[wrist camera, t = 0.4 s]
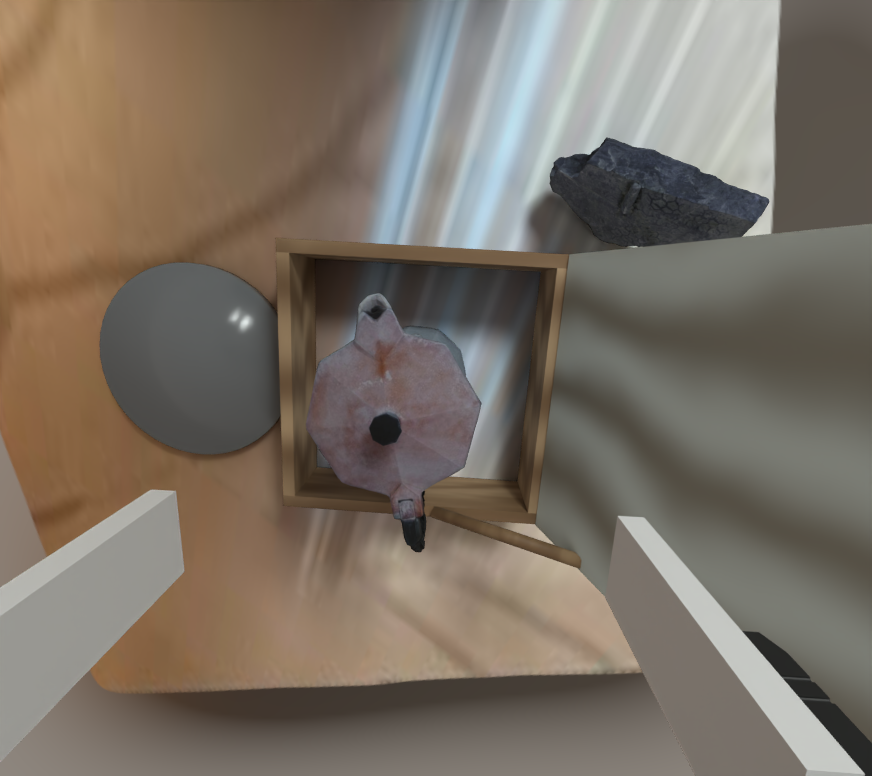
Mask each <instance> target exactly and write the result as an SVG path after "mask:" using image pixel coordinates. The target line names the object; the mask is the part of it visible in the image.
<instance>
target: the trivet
mask: <svg viewBox="0 0 872 776" xmlns="http://www.w3.org/2000/svg"><path fill="white" fill-rule="evenodd" d="M100 358H101V363H102V368H103V372H104V375H105V378H106V381H107V384H108V386H109V388H110V390H111V392H112V394H113V396H114V398H115V399H116V401H117V403H118V404H119V406H120V407H121V408H122V410H123V411H124V412H125V413H126V415H127V416H128V417H129V418H130V419H131V420H132V421H133V422H134V423H135V424H136V425H137V426H138V427H139V428H141V429H142V430H143V431H144V432H145V433H147V434H148V435H150V436H151V437H153V438H154V439H156V440H158V441H160V442H162V443H164V444H166V445H168V446H170V447H173V448H176V449H178V450H182V451H186V452H190V453H197V454H220V453H227V452H231V451H235V450H238V449H240V448H243V447H245V446H247V445H249V444H251V443H252V442H254V441H256V440H257V439H259V438H260V437H261V436H263V435H264V434H265V433H266V432H268V431H269V430H270V429H271V428H272V427H273V426H274V425H275V424H276V423H277V421H278V420H279V419H280V417H281V406H280V373H279V339H278V313H277V312H276V310H275V309H274V307H273V306H272V305H271V304H270V303H269V302H268V300H267V299H266V298H265V297H264V296H263V295H262V294H261V293H260V292H259V291H258V290H257V289H256V288H254V287H253V286H252V285H250V284H249V283H247V282H246V281H245V280H243V279H241V278H240V277H238V276H236V275H234V274H232V273H230V272H228V271H225V270H223V269H220V268H217V267H213V266H209V265H203V264H196V263H170V264H163V265H159V266H156V267H153V268H150V269H148V270H146V271H143V272H141V273H139V274H138V275H136V276H135V277H133V278H132V279H131V280H129V281H128V282H127V283H126V284H125V285H124V286H123V287H122V288H121V289H120V290H119V291H118V292H117V294H116V295H115V296H114V298H113V299H112V301H111V303H110V305H109V307H108V308H107V311H106V313H105V316H104V319H103V323H102V327H101V332H100Z"/></svg>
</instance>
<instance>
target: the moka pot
mask: <svg viewBox="0 0 872 776" xmlns="http://www.w3.org/2000/svg"><path fill="white" fill-rule="evenodd" d="M480 407H481V401H480V400H479V398H478V397H477V395H476V393H475V392H474V390H473V388H472V387H471V385H470V383H469V381H468V380H467V378H466V373H465V367H464V363H463V359H462V354H461V351H460V349H459V348H458V347H457V346H456V345H455V344H454V343H453V342H452V341H451V340H450V339H449V338H448V337H447V336H446V335H445V334H443V333H442V332H441V331H439V330H437V329H432V328H427V327H415V326H407V327H405V328H403V329H402V327H401V326H400V324H399V322H398V320H397V317H396V315H395V314H394V312H393V310H392V308H391V306H390V304H389V303H388V301H387V300H386V298H385V297H384V296H383V295H382V294H380V293H376V294H373V295H368V296H367V297H366V298H365V299H364V300H363V301H362V302H361V303H360V304H359V307H358V314H357V325H356V333H355V338H354V340H353V341H351V342H350V343H348V344H347V345H345V346H344V347H342V348H341V349H339V350H337V351H336V352H334V353H332V354H330V355H329V356H327V357H326V358H324V359H322V360H321V361H320V362H319V364H318V367H317V371H316V375H315V380H314V385H313V390H312V396H311V401H310V406H309V411H308V415H307V420H306V430H307V431H308V432H309V434H310V436H311V437H312V439H313V440H314V442H315V444H316V445H317V447H318V448H319V450H320V451H321V453H322V454H323V456H324V457H325V459H326V460H327V462H328V463H329V465H330V466H331V468H332V469H333V471H334V472H335V474H336V476H337V477H338V478H339V479H340V481H341V482H342V483H345V484H347V485H350V486H353V487H358V488H362V489H365V490H369V491H374V492H377V493H381V494H384V495H387V496H388V497H389V498H390V502H391V507H392V512H393V515H394V518H395V519H400V520H401V522H402V527H403V534H404V538H405V542H406V543H407V545H409V546H411V549H412V550H414V551H415V552H421V551H422V550H423V549H424V546H425V541H424V537H425V531H426V514H425V512H424V507H425V503H424V501H425V499H424V495H425V491H424V490H426V489H427V488H429V487H430V486H432V485H434V484H436V483H437V482H439V481H441V480H443V479H445V478H447V477H449V476H451V475H453V474H454V473H456V472H458V471H459V470H461V469H462V468H464V467H465V464H466V460H467V457H468V453H469V449H470V445H471V442H472V438H473V434H474V430H475V427H476V423H477V420H478V416H479V412H480Z"/></svg>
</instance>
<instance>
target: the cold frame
mask: <svg viewBox="0 0 872 776" xmlns="http://www.w3.org/2000/svg"><path fill="white" fill-rule="evenodd" d="M275 239H276V272H277V306H278V339H279V373H280V406H281V440H282V473H283V506H293V507H306V508H320V509H334V510H347V511H361V512H375V513H389V514H393V512H392V507H391V502H390V498H389V497H388V496H387V495H384V494H381V493H377V492H374V491H369V490H365V489H362V488H358V487H353V486H350V485H347V484H345V483H342V482H341V481H340V479H339V478H338V477H337V476H336V474H335V472H334V471H333V469H332V468H320V467H317V445H316V444H315V442H314V440H313V439H312V437H311V436H310V434H309V432H308V431H307V430H306V420H307V415H308V411H309V406H310V401H311V396H312V390H313V385H314V380H315V375H316V319H315V259H328V260H346V261H363V262H381V263H398V264H415V265H433V266H450V267H467V268H485V269H502V270H519V271H537V272H541V273H540V282H539V291H538V300H537V309H536V318H535V327H534V336H533V345H532V354H531V363H530V372H529V381H528V390H527V399H526V408H525V417H524V426H523V435H522V444H521V453H520V462H519V471H518V480H517V481H505V480H491V479H476V478H462V477H447V478H445V479H443V480H441V481H439V482H437V483H436V484H434V485H432V486H430V487H429V488H427V489H426V490H424V491H425V495H424V499H425V501H424V503H425V507H424V512H425V514H426V516H430V517H432V518H435V519H438V520H441V521H444V522H447V523H450V524H452V525H455V526H458V527H461V528H464V529H467V530H470V531H473V532H475V533H478V534H481V535H484V536H487V537H490V538H493V539H496V540H498V541H501V542H504V543H507V544H510V545H513V546H516V547H519V548H521V549H524V550H527V551H530V552H533V553H536V554H539V555H542V556H544V557H547V558H550V559H553V560H556V561H559V562H562V563H565V564H567V565H570V566H573V567H576V568H578V569H579V570H580V571H581V572H582V573H583V574H584V575H585V576H586V577H587V579H588V580H589V581H590V582H591V583H592V584H593V585H594V586H595V587H596V588H597V589H598V590H599V591H600V592H601V593H602V594H603V595H604V596H605V595H606V588H607V582H608V575H609V569H610V562H611V555H612V549H613V542H614V536H615V529H616V523H617V516H628V517H644V518H645V519H646V520H647V521H648V522H649V524H650V525H651V526H652V527H653V528H654V529H655V531H656V532H657V533H658V534H659V535H660V536H661V538H662V539H663V540H664V541H665V542H666V543H667V545H668V546H669V547H670V548H671V549H672V550H673V552H674V553H675V554H676V555H677V556H678V557H679V559H680V560H681V561H682V562H683V563H684V564H685V565H686V567H687V568H688V569H689V570H690V571H691V572H692V574H693V575H694V576H695V577H696V578H697V579H698V581H699V582H700V583H701V584H702V585H703V586H704V588H705V589H706V590H707V591H708V592H709V593H710V595H711V596H712V597H713V598H714V599H715V600H716V602H717V603H718V604H719V605H720V606H721V607H722V608H723V610H724V611H725V612H726V613H727V614H728V615H729V617H730V618H731V619H732V620H733V621H734V622H735V624H736V625H737V626H738V627H739V628H740V629H741V631H751V632H759V633H761V634H762V635H764V636H765V637H766V638H768V639H769V640H771V641H772V642H773V643H775V644H776V645H777V646H779V647H780V648H782V649H783V650H784V651H786V652H787V653H788V654H789V655H790V656H791V657H792V658H793V659H794V660H795V661H796V662H797V664H798V665H799V666H800V667H801V668H802V669H803V670H804V671H805V672H806V673H807V674H808V675H809V676H810V679H811V681H812V682H815V683H816V684H817V685H818V686H819V687H820V688H821V689H822V690H823V691H824V692H825V693H826V695H827V696H828V697H829V698H830V701H831V703H834V704H836V705H837V706H838V707H839V708H840V709H841V711H842V712H843V713H844V714H845V715H846V716H847V717H848V718H849V719H850V720H851V721H852V722H853V723H854V724H855V726H856V727H857V728H858V729H859V730H860V731H861V732H862V733H863V734H864V735H865V736H866V737H867V738H868V739H869V740H870V742H871V743H872V224H866V225H857V226H846V227H836V228H826V229H816V230H806V231H796V232H786V233H776V234H766V235H756V236H746V237H737V238H727V239H717V240H707V241H697V242H687V243H677V244H667V245H657V246H647V247H637V248H627V249H617V250H608V251H598V252H588V253H578V254H552V253H534V252H516V251H499V250H481V249H463V248H445V247H428V246H410V245H392V244H375V243H357V242H339V241H321V240H304V239H286V238H275ZM480 520H485V521H498V522H512V523H526V524H535V525H536V526H537V527H538V528H539V529H540V530H541V531H542V532H543V533H544V534H545V535H546V536H547V537H548V538H549V539H550V540H551V541H552V542H553V544H554V545H552V544H549V543H546V542H543V541H540V540H537V539H534V538H531V537H528V536H525V535H522V534H519V533H516V532H513V531H510V530H507V529H504V528H501V527H498V526H495V525H492V524H489V523H486V522H483V521H480Z"/></svg>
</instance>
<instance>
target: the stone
mask: <svg viewBox="0 0 872 776" xmlns="http://www.w3.org/2000/svg"><path fill="white" fill-rule="evenodd" d="M550 186H551V188H552V190H553V192H555V193H557V194H559V195H560V196H561V197H562V198H563V199H564V200H565V201H566V202H567V203H568V204H569V206H570V207H571V208H572V210H573V211H574V212H575V213H576V214H577V215H578V216H579V217H580V218H581V219H582V220H583V221H585V222H586V223H588V224H589V225H590V226H591V228H592V231H593V234H594V235H595V236H596V237H598V238H599V239H600V240H602V241H604V242H608V243H615V244H617V245H620V246H625V247H627V246H638V247H641V246H642V247H647V246H657V245H667V244H677V243H687V242H697V241H707V240H717V239H727V238H737V237H742V236H743V235H744V234H745V233H746V232H747V231H748V230H749V229H750V228H751V227H752V226H753V225H754V224H755V223H756V222H757V220H758V218H759V217H760V216H761V215H762V214H763V212H764V210H765V208H766V207H767V205H768V203H769V199H768V198H766V197H762V196H760V195H758V194H755V193H751V192H749V191H747V190H743V189H740V188H737V187H735V186H731V185H728V184H726V183H724V182H722V180H720V179H718V178H717V177H716V176H713V175H710V174H705V173H702V172H700V169H698V168H697V167H695V166H692V165H689V164H686V163H683V162H681V161H678V160H674V159H673V158H671V157H668V156H665V155H662V154H660V153H659V152H657V151H655V150H651V149H645V148H637V147H632V146H630V145H628V144H625V143H622V142H619V141H617V140H615V139H611V138H606V139H605V140H604V142H603V143H602V144H601V146H600V147H599V148H597V149H596V150H594V151H593V152H592V153H591V155H587V154H575V155H573V156H571V157H567V158H563V157H561V158H558V159H557V160H556V161H555V162H554V167H553V168H552V170H551V173H550Z"/></svg>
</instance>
